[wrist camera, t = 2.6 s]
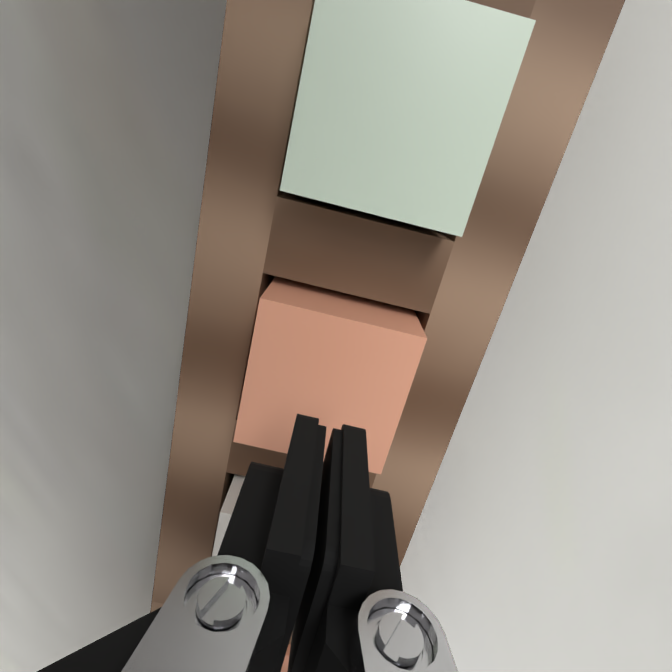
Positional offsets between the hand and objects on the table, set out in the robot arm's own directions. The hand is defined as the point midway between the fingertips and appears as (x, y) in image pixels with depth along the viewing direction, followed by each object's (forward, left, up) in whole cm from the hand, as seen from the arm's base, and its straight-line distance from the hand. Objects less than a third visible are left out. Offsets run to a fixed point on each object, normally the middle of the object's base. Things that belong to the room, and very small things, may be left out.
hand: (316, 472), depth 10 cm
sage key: (-8, 0, -7) cm, 11 cm away
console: (+3, 0, -9) cm, 9 cm away
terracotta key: (0, 0, -7) cm, 7 cm away
